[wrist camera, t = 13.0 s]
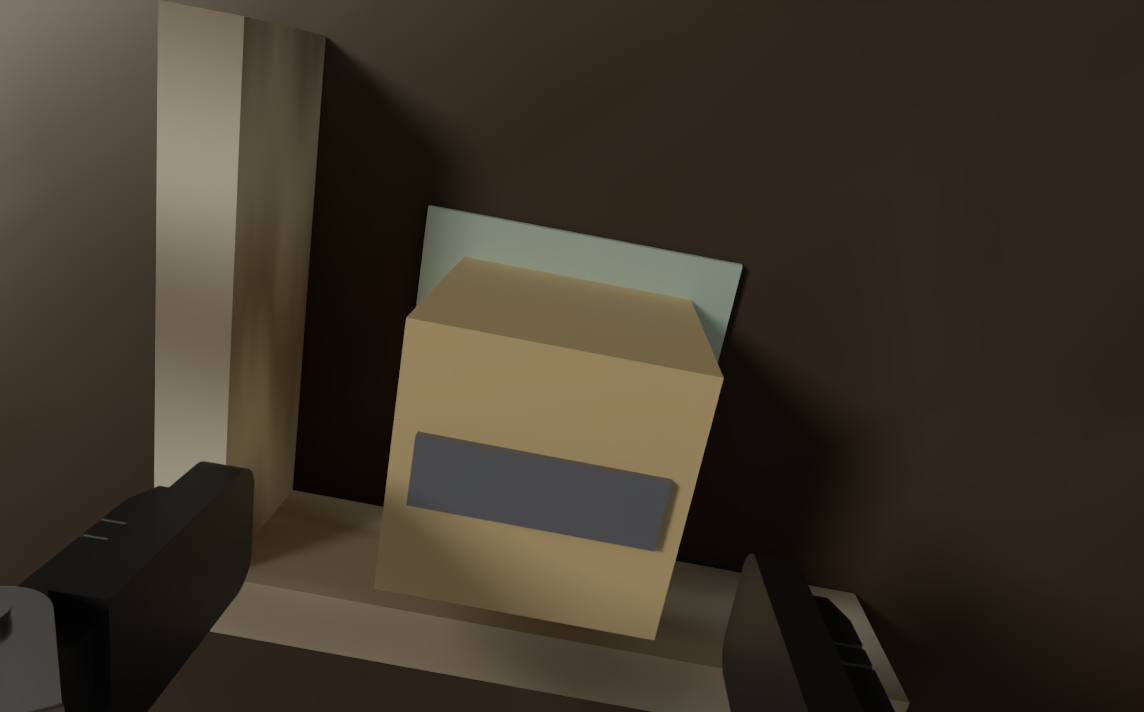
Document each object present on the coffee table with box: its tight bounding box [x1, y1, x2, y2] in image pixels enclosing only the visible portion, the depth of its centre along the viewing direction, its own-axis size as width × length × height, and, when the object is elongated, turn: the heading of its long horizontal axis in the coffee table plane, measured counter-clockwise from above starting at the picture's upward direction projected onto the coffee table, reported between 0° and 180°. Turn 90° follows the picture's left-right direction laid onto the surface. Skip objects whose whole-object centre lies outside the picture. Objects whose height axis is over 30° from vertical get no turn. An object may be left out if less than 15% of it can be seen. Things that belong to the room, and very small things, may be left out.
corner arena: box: [154, 0, 910, 712], centre depth 17 cm, size 13×17×4 cm
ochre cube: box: [374, 257, 724, 640], centre depth 16 cm, size 6×6×6 cm
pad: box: [416, 205, 743, 363], centre depth 19 cm, size 8×8×1 cm
